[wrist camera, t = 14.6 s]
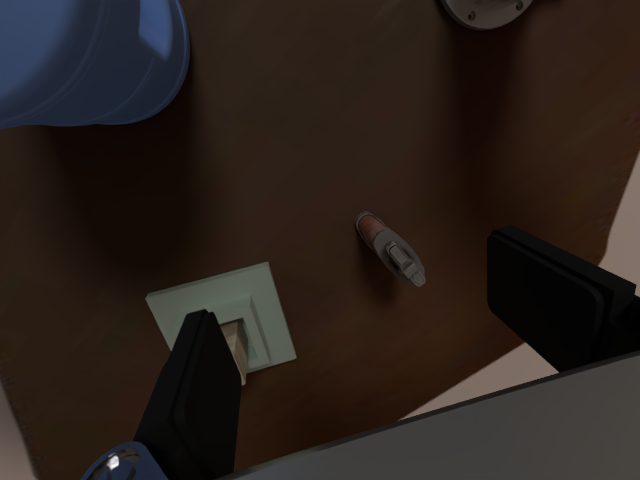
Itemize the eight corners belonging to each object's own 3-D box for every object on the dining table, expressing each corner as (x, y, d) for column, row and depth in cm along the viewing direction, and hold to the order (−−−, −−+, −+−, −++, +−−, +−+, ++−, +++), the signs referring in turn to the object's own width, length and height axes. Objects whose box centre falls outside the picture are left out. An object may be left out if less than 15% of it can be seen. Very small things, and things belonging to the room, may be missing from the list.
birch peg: (238, 313, 41) (234, 356, 34) (248, 338, 42) (245, 384, 35) (207, 322, 41) (196, 367, 33) (218, 347, 42) (209, 395, 35)
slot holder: (268, 261, 40) (269, 276, 37) (295, 352, 46) (298, 374, 42) (148, 293, 39) (136, 312, 35) (191, 383, 45) (185, 408, 41)
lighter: (403, 247, 43) (442, 282, 34) (384, 264, 44) (418, 302, 34) (369, 205, 40) (401, 231, 31) (348, 223, 41) (375, 253, 31)
